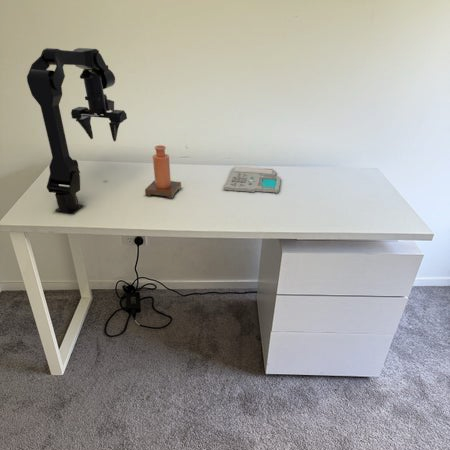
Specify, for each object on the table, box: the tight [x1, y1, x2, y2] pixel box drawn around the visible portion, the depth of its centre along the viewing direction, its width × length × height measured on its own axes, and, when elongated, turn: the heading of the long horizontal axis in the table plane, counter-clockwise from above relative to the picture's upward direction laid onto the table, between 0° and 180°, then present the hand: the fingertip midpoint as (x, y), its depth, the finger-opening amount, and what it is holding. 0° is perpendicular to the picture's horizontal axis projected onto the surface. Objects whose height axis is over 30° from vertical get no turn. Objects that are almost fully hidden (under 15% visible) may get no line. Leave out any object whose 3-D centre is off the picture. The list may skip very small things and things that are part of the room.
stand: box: [144, 179, 182, 200], centre depth 139 cm, size 10×10×2 cm
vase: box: [152, 144, 172, 189], centre depth 134 cm, size 6×6×14 cm
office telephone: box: [224, 165, 281, 194], centre depth 149 cm, size 23×3×20 cm
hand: (103, 140), depth 140 cm, fingers open, 9 cm apart
